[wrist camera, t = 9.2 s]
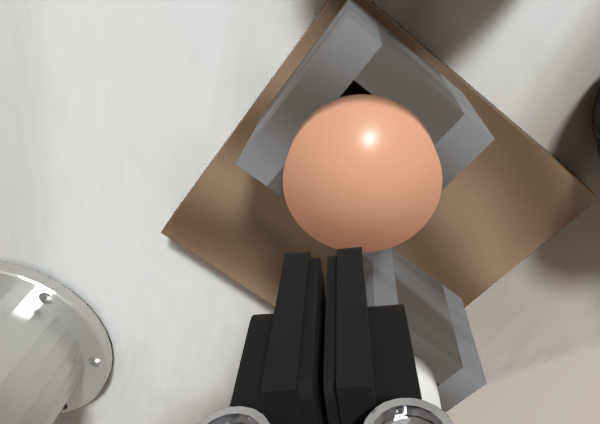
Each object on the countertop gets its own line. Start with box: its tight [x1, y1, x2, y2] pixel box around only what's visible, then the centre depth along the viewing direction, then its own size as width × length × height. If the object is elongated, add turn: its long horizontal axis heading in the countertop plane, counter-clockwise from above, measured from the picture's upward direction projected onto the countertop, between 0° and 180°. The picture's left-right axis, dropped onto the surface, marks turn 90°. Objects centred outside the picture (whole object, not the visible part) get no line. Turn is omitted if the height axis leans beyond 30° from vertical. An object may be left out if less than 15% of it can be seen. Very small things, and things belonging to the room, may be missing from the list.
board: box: [161, 0, 598, 412], centre depth 24 cm, size 16×16×8 cm
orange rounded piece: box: [283, 89, 443, 253], centre depth 18 cm, size 5×5×6 cm
